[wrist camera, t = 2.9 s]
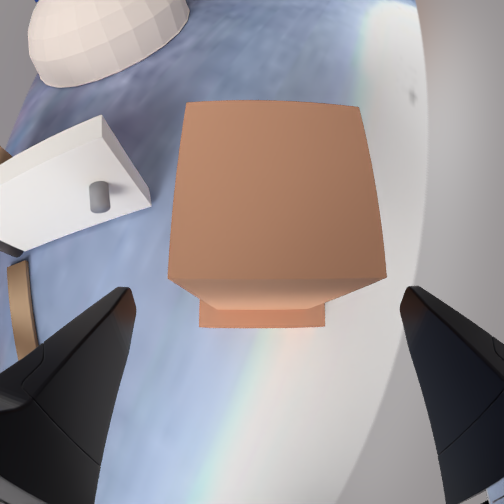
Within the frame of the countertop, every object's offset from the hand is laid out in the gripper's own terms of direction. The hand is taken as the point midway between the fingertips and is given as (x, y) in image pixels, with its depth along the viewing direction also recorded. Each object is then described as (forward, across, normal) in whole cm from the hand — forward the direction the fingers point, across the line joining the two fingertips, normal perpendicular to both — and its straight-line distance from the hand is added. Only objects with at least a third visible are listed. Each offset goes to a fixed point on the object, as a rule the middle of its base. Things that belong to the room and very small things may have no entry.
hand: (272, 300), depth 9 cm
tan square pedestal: (+9, 0, +5) cm, 11 cm away
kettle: (+30, +18, -15) cm, 38 cm away
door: (+11, +13, +3) cm, 17 cm away
